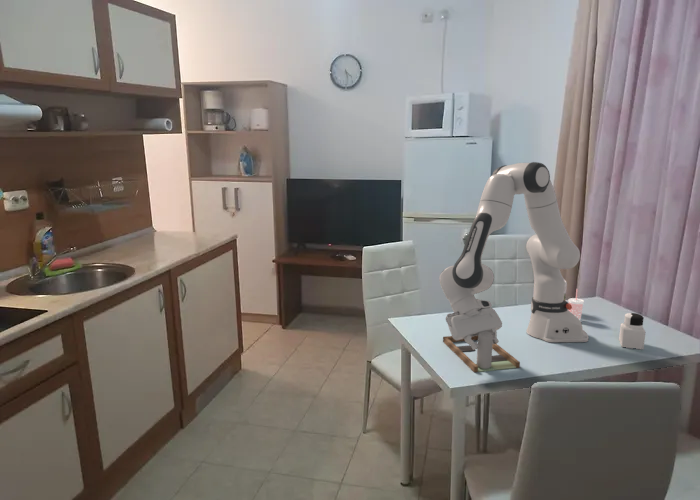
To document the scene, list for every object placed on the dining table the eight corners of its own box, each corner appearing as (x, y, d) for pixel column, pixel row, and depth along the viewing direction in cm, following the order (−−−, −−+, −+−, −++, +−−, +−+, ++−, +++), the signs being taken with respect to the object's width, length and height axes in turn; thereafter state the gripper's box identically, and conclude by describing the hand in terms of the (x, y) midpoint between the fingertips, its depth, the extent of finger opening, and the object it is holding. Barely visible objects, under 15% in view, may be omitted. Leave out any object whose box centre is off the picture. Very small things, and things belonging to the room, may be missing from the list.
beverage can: (474, 364, 174) (475, 330, 171) (487, 363, 174) (489, 330, 172) (479, 370, 169) (481, 336, 167) (493, 369, 170) (495, 335, 167)
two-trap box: (442, 341, 194) (443, 336, 194) (482, 338, 197) (483, 333, 197) (474, 372, 168) (474, 366, 168) (519, 367, 171) (520, 362, 171)
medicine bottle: (639, 342, 192) (643, 312, 189) (643, 350, 185) (647, 318, 183) (618, 340, 194) (621, 310, 192) (621, 347, 188) (625, 316, 185)
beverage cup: (570, 317, 221) (572, 285, 218) (584, 320, 216) (587, 288, 213) (564, 320, 216) (566, 288, 213) (578, 324, 212) (581, 291, 209)
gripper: (448, 310, 168) (467, 348, 162) (493, 300, 178) (513, 336, 172) (439, 319, 173) (457, 356, 167) (483, 309, 183) (502, 344, 177)
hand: (486, 346), depth 170 cm, fingers open, 8 cm apart
